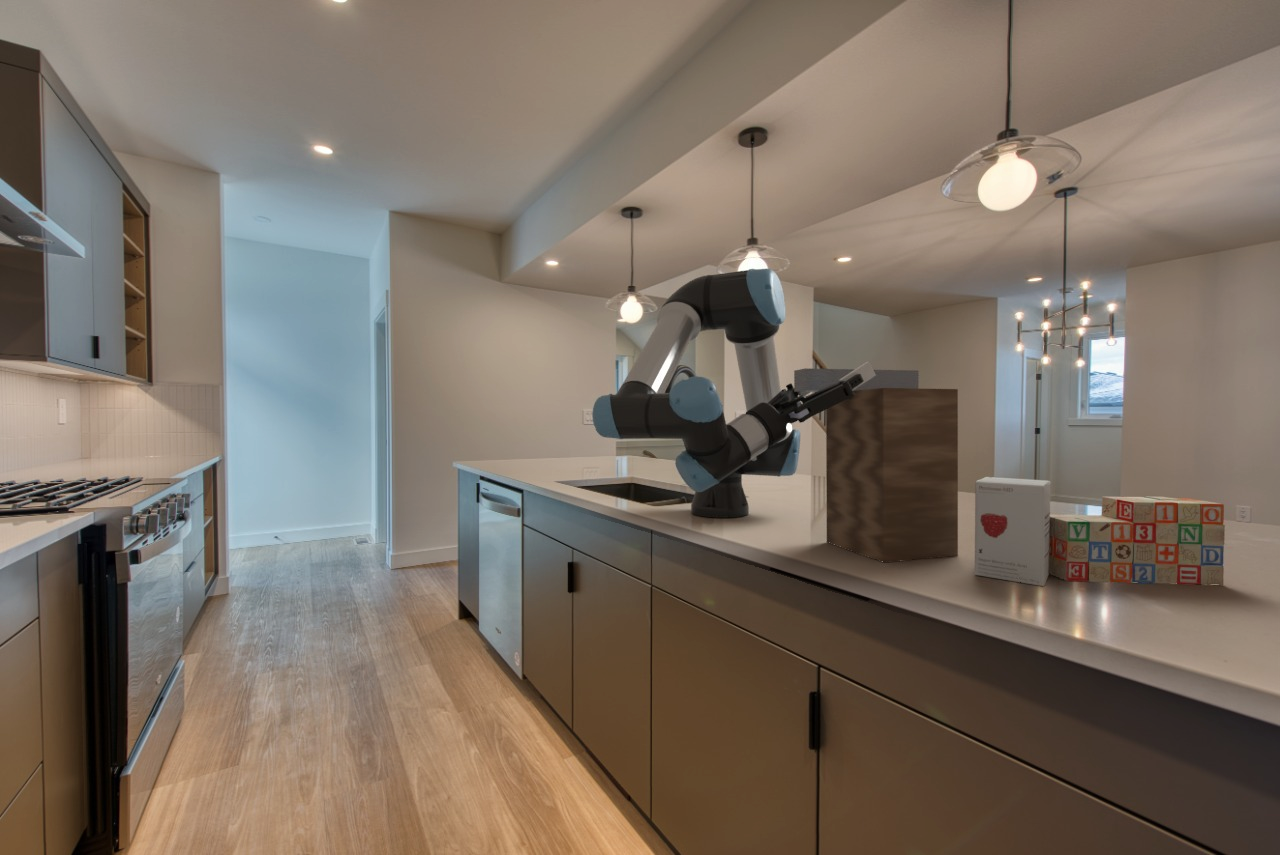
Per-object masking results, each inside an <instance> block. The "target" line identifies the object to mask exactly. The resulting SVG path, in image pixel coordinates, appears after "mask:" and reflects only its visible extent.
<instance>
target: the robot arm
mask: <svg viewBox="0 0 1280 855" xmlns="http://www.w3.org/2000/svg"><path fill="white" fill-rule="evenodd" d="M656 316H657V317H656V322H657V324H656V326H655V327H654V329H653V331H652V332H651V335H649V337H648V340H647V341H646V343H645V344H644V347H643V348H642V350H641V352H640V353H639V355H638V357H637V358H636V359H635V362H634V363H633V365H632V367H631V368H630V370H629V372H628V374H627V375H626V377H625V379H624V380H623V382H622V385H620V387H619V389H618V391H617V392H616V394H612V393H609V394H607V395H601V396H599V397H598V398H597V399H596V400H595V401H594V404H593V407H592V415H591V416H592V423H593V426H594V429H595V432H597V434H598V435H599V436H601V438H607V439H608V438H609V439H618V440H624V439H625V440H626V439H627V440H633V439H634V440H639V439H641V440H642V439H643V440H644V439H647V440H649V439H656V440H657V439H660V440H661V439H664V440H666V439H667V440H668V439H672V440H673V439H674V440H676V439H677V440H679V439H681V440H682V443H683V445H684V448H685V450H683V451H681V453H680V454H678V455H677V456H676V457H675V467H676V469H677V471H678V474H679V476H680V477H681V479H682V480H683V482H684V483H685V484H686V485H687V486H688V488H690V489H691V490H692V491H694V492H695V493H694V495H693V498H692V500H691V508H690V510H691V511H690V513H691V514H692V515H695V516H700V517H705V518H720V519H723V518H725V519H726V518H729V519H730V518H740V517H745V516H748V515H749V512H750V511H749V503H748V500H747V497H746V494H745V490H744V488H743V484H742V480H743V478H742V476H743V475H746V476H750V475H751V476H769V477H785V476H786V477H790V476H793V475H795V473H796V472H797V470H798V462H799V456H800V450H801V449H800V447H801V431H800V430H798V429H796V428H794V429H793V425H792V424H794V423H796V422H798V423H800V424H801V423H804V422H805V421H807V420H809V419H810V418H811V417H813V416H816V415H818V414H819V413H822V412H824V411H826V409H828V408H830V407H832V406H834V405H836V404H838V403H840V402H842V401H845V400H847V399H849V400H850V399H851V398H852V397H853V396H854V395H855V394H854V392H853V390H855V389H856V388H858V387H859V386H861V385H862V384H864V383H865V382H867V381H868V380H870V379H871V378H873V377H874V376H876V374H875V372H874V370H875V369H873V366H872V364H871V362H870V361H866V362H864V363H863V364H861V365H859V366H858V367H856V368H854V369H855V370H853V371H852V372H850V373H849V374H847V375H846V376H844V377H843V378H841V379H840V380H839V382H838V383H836V384H834V385H831V386H829V387H827V388H824V389H822V390H820V391H817V392H812V393H811V392H794V384H792V383H788V384H786V386H785V387H786V388H783V389H782V388H781V384H780V383H781V382H780V376H779V369H778V363H777V362H778V360H777V354H776V347H775V339H774V337H775V336H776V335H777V334H778V333H779V330H780V325H782V324H783V323H784V322H785V320H786V303H785V295H784V291H783V287H782V283H781V280H780V278H779V276H778V275H777V273H776V272H775V271H774V270H772V269H770V268H757V269H755V268H749V269H748V270H747V269H746V270H740V271H732V272H731V271H730V272H725V273H717V274H707V275H702V276H701V275H700V276H699V277H695V278H694V279H692V280H690V281H688V282H686V283H685V284H684V285H682V286H681V287H679V288H678V289H676V291H675V292H673V293H672V294H671V295H670V296H669V297H668V298H667V299H666V300H665V302H664V303H663V305H662V306H661V308H660V310H659V311H658V313H657V315H656ZM710 330H711V331H712V330H713V331H715V330H724V333H725V338H726V340H727V341H728V342H729V343H732V344H733V345H734V348H735V355H736V360H737V364H738V365H737V366H738V370H739V377H740V381H741V386H742V387H741V388H742V393H743V399H744V403H745V409H746V412H745V413H742V414H740V415H738V416H737V417H736V418H734V419H733V420H731V421H729V422H728V423H727V421H726V418H725V413H724V407H723V406H724V405H723V404H722V403H723V402H722V400H721V398H720V396H719V393H718V390H717V387H716V385H715V383H714V382H713V381H712V380H710V379H709V378H707V377H704V376H690V377H689V378H687V379H681V380H679V381H678V382H676V383H675V384H673V386H672V388H671V389H670V391H669V392H666V391H667V388H668V387H669V384H670V383H671V381H672V378H673V377H674V374H675V373H676V371H677V369H678V366H679V364H680V362H681V360H682V357H683V356H684V354H685V352H686V349H687V347H688V346H689V344H690V342H692V341H693V340H695V339H696V338H697V337H698V335H699V333H701V332H704V331H710Z"/></svg>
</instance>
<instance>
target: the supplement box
mask: <svg viewBox="0 0 1280 855" xmlns="http://www.w3.org/2000/svg"><path fill="white" fill-rule="evenodd" d="M1051 484H1052V482H1051V481H1050V480H1044V479H1031V478H1030V479H1029V478H1010V477H992V476H985V477H983V478H980V479H978V480H976V481H975V484H974V486H975V490H974V491H975V492H974V493H975V494H974V495H975V497H974V498H975V501H974V502H975V504H974V505H975V506H974V507H975V508H974V514H975V516H974V522H975V523H974V575H975V576H977V577H978V576H979V577H985V578H992V579H997V580H1004V581H1009V582H1015V583H1020V582H1021V584H1027V585H1031V586H1040V587H1044V586H1045V585H1046V582H1047V580H1048V577H1049V575H1050V574H1049V551H1050V514H1051V488H1052V486H1051Z"/></svg>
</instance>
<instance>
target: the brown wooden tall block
mask: <svg viewBox="0 0 1280 855" xmlns="http://www.w3.org/2000/svg"><path fill="white" fill-rule="evenodd" d="M853 392H854V394H855V395H854V396H853V397H852V398H851V399H850V400H849V399H847V400H845V401H842V402H840V403H838V404H836V405H834V406H832V407H830V408H828V409H826V410H825V415H826V416H825V419H826V421H825V424H826V426H825V429H826V430H825V431H826V432H825V433H826V434H825V438H826V439H825V440H826V441H825V442H826V444H825V445H826V446H825V447H826V451H825V452H826V453H825V454H826V457H825V458H826V463H825V464H826V465H825V466H826V467H825V468H826V482H825V483H826V543H827V542H830V543H832V544H835V545H838V546H841V547H843V548H842V549H844V548H846V549H845V550H847V549H849V550H852V551H854V552H853V553H855V552H857V553H856V554H858V553H860V554H859V555H861V554H863V555H862V556H864V555H866V556H865V557H867V556H869V557H871V559H872V558H874V559H873V560H875V559H877V560H876V561H878V560H880V561H879V562H881V561H883V562H882V563H884V562H885V563H890V562H889V561H895V562H901V561H900V560H906V561H913V560H912V559H916V560H925V559H926V558H927V559H935V558H946V557H955V556H956V557H957V556H959V530H958V529H959V515H958V514H959V507H958V506H959V497H958V496H959V492H958V490H959V487H958V486H959V485H958V484H959V483H958V482H959V481H958V480H959V472H958V469H959V468H958V466H959V461H958V460H959V459H958V458H959V457H958V456H959V455H958V454H959V453H958V452H959V451H958V448H959V436H958V434H959V433H958V432H959V431H958V430H959V429H958V428H959V426H958V425H959V421H958V420H959V419H958V418H959V414H958V413H959V412H958V411H959V410H958V408H959V406H958V405H959V404H958V403H959V400H958V395H959V393H958V392H959V389H958V388H918V389H915V388H879V389H867V390H856V391H853ZM830 543H829V544H830ZM832 544H831V545H832ZM835 545H834V546H835ZM838 546H837V547H838ZM841 547H840V548H841ZM849 550H848V551H849ZM852 551H851V552H852ZM869 557H868V558H869Z"/></svg>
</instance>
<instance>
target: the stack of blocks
mask: <svg viewBox="0 0 1280 855" xmlns="http://www.w3.org/2000/svg"><path fill="white" fill-rule="evenodd" d="M1224 511H1225V504H1224V503H1219V502H1215V501H1214V502H1213V501H1207V500H1200V499H1194V498H1183V497H1182V498H1181V497H1180V498H1179V497H1166V496H1148V495H1147V496H1146V495H1145V496H1144V497H1143V496H1123V497H1122V496H1101V515H1096V514H1095V515H1093V514H1092V515H1091V514H1090V515H1089V514H1051V513H1050V551H1049V573H1050V574H1049V575H1052V576H1054V577H1057V578H1058V577H1059V579H1062V580H1063V579H1064V580H1063V581H1065V582H1066V581H1067V582H1089V581H1090V582H1089V583H1112V582H1126V583H1125V584H1133V583H1132V582H1138V583H1137V584H1146V583H1177V584H1176V585H1179V584H1219V585H1223V586H1224V574H1225V573H1224V571H1225V570H1224V569H1225V568H1224V552H1225V551H1224V550H1225V549H1224V547H1225V533H1226V532H1225V530H1226V528H1225V526H1226V525H1225V524H1224V518H1225V516H1224V515H1225V514H1224V513H1225V512H1224Z"/></svg>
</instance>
